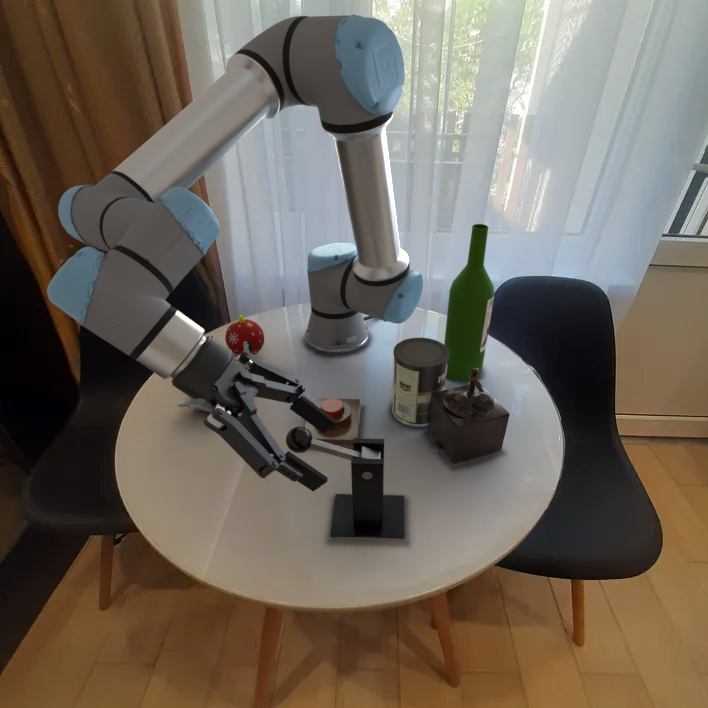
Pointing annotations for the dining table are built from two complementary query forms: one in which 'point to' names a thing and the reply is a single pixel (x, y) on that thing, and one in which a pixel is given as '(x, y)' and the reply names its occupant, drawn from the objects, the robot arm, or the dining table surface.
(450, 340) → the wine bottle
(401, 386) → the coffee can
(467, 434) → the brown coffee grinder
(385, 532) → the bracket
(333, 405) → the button
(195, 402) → the packaged food
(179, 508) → the dining table surface
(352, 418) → the button block
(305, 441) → the lever
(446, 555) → the dining table surface
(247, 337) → the christmas ornament
